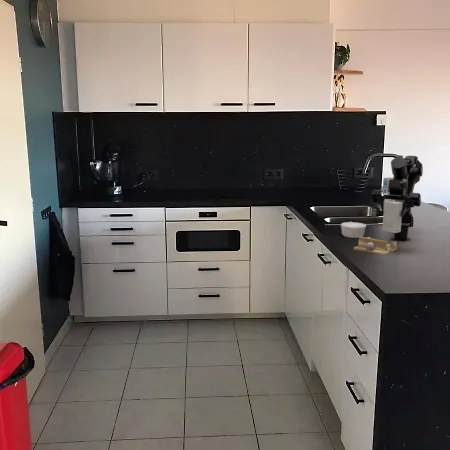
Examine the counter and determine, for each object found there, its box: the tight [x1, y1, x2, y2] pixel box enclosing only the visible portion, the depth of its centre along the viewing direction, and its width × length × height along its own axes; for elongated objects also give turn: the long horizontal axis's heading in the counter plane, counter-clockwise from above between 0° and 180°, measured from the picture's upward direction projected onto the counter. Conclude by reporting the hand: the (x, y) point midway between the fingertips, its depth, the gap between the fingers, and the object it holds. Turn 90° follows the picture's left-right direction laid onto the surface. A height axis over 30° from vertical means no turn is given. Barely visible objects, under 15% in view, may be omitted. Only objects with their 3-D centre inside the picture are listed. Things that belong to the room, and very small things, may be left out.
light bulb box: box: [382, 177, 393, 194], centre depth 363 cm, size 11×7×11 cm, turn 17°
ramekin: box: [340, 221, 367, 239], centre depth 229 cm, size 11×11×5 cm
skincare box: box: [382, 199, 403, 234], centre depth 200 cm, size 6×4×12 cm
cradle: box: [353, 236, 400, 256], centre depth 206 cm, size 14×13×5 cm
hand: (391, 215), depth 199 cm, fingers closed on skincare box, 7 cm apart
